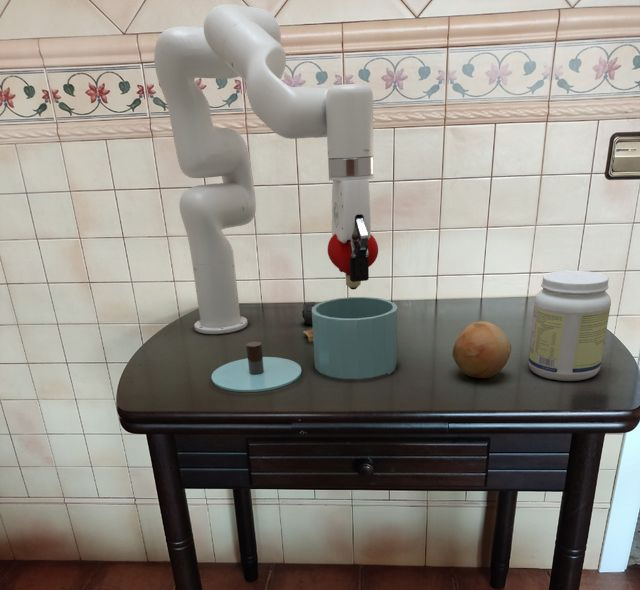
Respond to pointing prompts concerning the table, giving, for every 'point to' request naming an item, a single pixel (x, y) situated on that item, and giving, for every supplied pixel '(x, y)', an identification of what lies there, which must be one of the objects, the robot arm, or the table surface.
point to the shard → (309, 335)
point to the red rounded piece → (349, 256)
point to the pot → (355, 337)
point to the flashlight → (308, 312)
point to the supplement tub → (569, 325)
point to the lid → (256, 372)
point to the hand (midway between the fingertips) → (353, 275)
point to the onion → (481, 350)
